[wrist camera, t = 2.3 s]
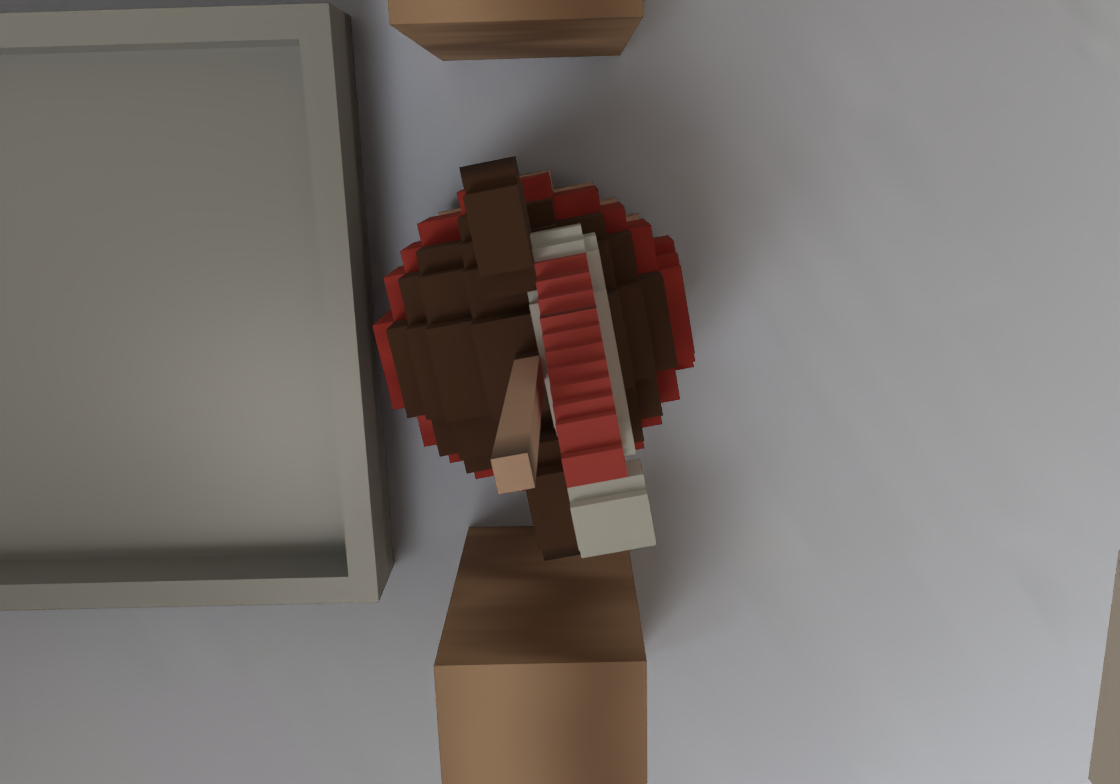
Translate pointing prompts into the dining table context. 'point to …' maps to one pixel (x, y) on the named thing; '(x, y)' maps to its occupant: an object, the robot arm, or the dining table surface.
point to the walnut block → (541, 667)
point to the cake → (541, 349)
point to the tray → (186, 313)
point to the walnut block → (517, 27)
